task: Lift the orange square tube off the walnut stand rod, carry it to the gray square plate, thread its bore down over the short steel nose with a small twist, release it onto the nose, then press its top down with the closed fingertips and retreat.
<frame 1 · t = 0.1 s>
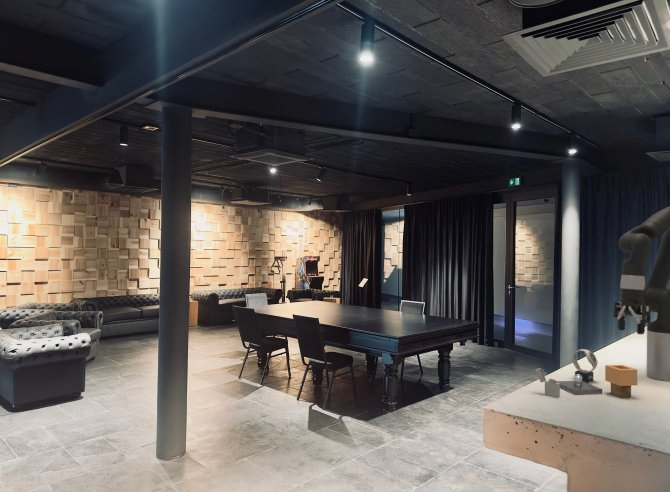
hand: (630, 332, 167), 17 cm above the counter, tool pointing down, fingers open, 8 cm apart
orange square tube: (620, 382, 147), point 4 cm above the counter, touching stand
lighter: (547, 395, 146), on the counter
stand: (620, 395, 147), on the counter
watch: (584, 381, 164), on the counter
gray square plate: (577, 389, 152), on the counter
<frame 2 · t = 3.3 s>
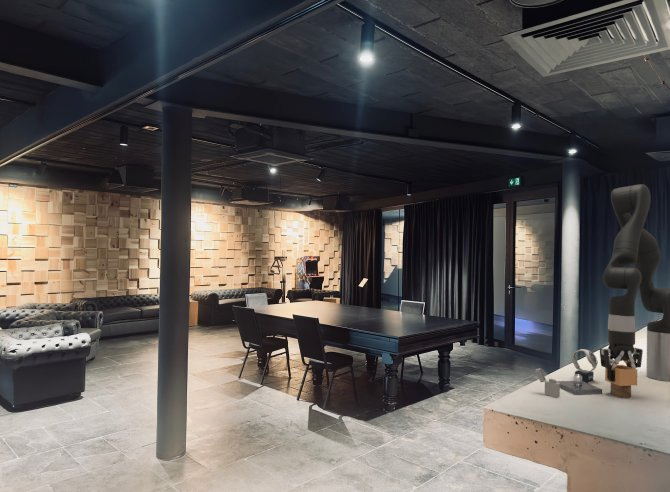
hand: (620, 380, 147), 5 cm above the counter, tool pointing down, fingers closed on orange square tube, 6 cm apart
orange square tube: (620, 382, 147), point 4 cm above the counter, touching gripper, stand
everything else where it was.
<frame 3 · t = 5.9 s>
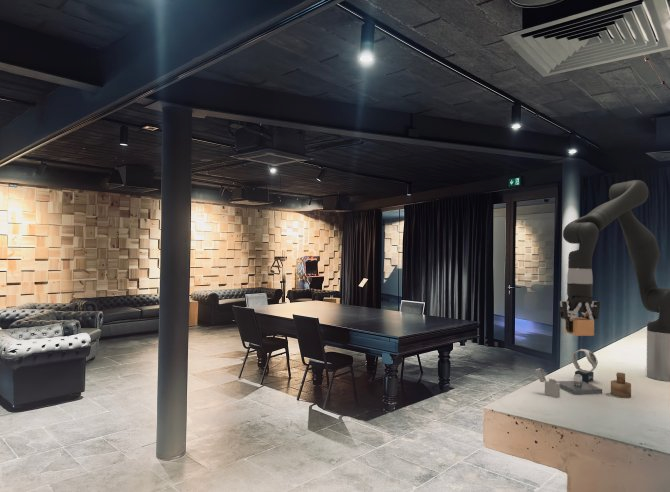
hand: (578, 331, 153), 19 cm above the counter, tool pointing down, fingers closed on orange square tube, 6 cm apart
orange square tube: (579, 333, 153), point 19 cm above the counter, touching gripper
everything else where it was.
when the fingers open (4 cm above the counter, at t = 8.6 s): orange square tube drops 1 cm, resting on gray square plate.
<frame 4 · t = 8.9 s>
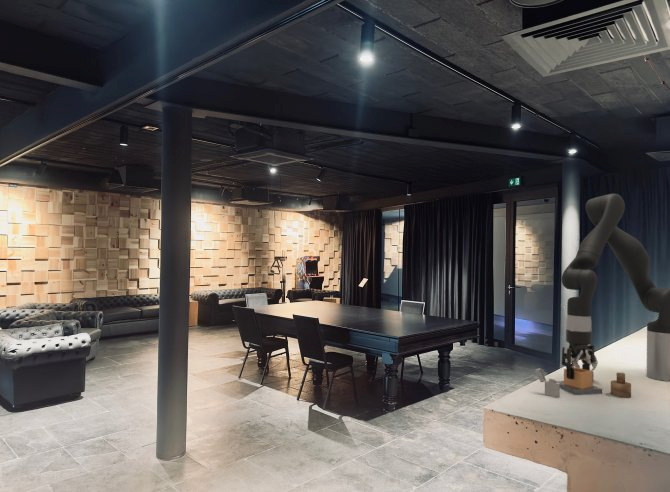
hand: (578, 377, 153), 4 cm above the counter, tool pointing down, fingers open, 8 cm apart
orange square tube: (578, 385, 153), point 1 cm above the counter, touching gray square plate
everything else where it was.
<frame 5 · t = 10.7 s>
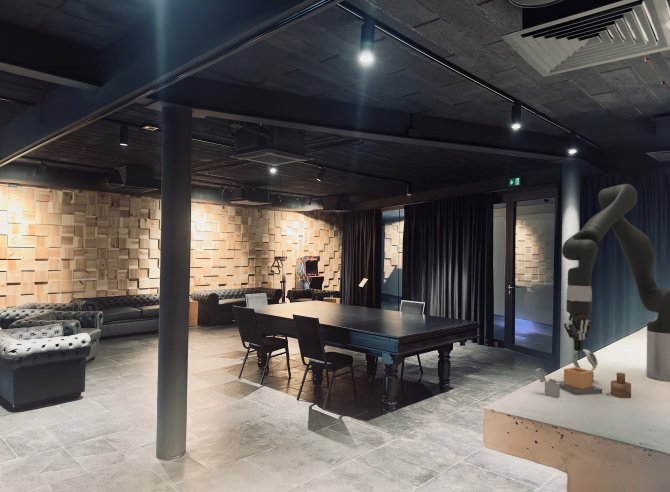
hand: (578, 350, 153), 13 cm above the counter, tool pointing down, fingers closed
nothing on the counter moved.
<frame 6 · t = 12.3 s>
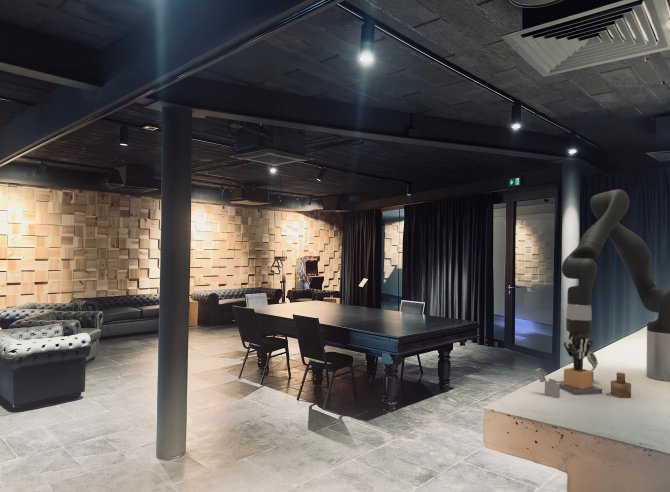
hand: (578, 369, 153), 7 cm above the counter, tool pointing down, fingers closed
nothing on the counter moved.
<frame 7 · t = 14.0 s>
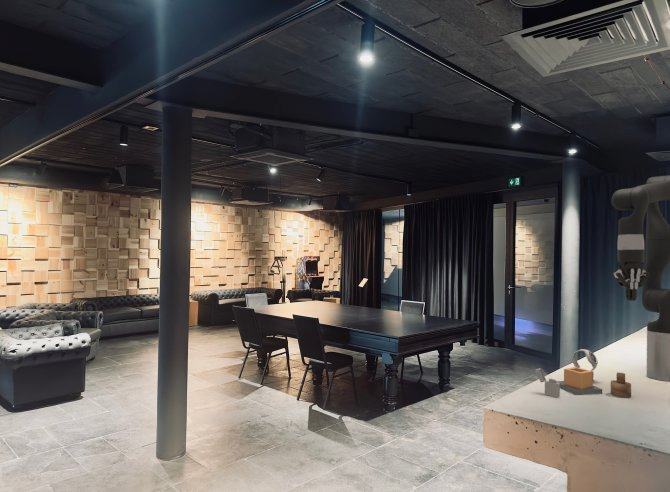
hand: (631, 300, 152), 30 cm above the counter, tool pointing down, fingers closed
nothing on the counter moved.
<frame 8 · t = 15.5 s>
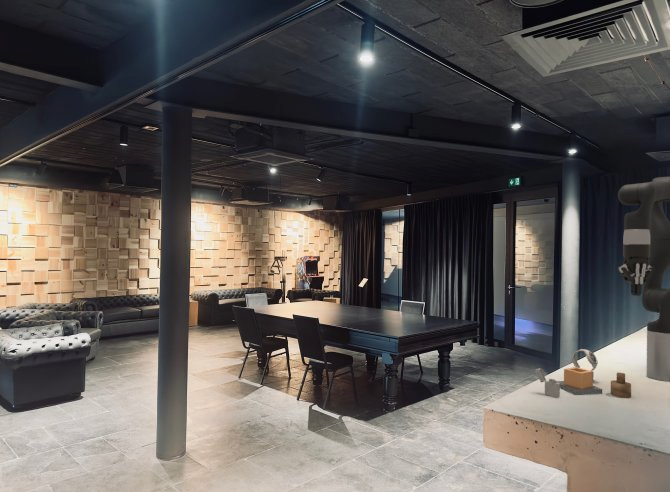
hand: (636, 295, 152), 32 cm above the counter, tool pointing down, fingers closed
nothing on the counter moved.
at the end: orange square tube 0.1 cm off-centre on the gray square plate, point 1.5 cm above the gray square plate's base; the gripper is holding nothing; orange square tube tilted 0° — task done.
